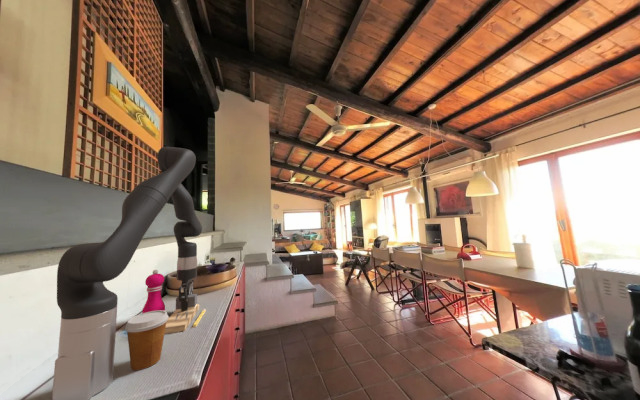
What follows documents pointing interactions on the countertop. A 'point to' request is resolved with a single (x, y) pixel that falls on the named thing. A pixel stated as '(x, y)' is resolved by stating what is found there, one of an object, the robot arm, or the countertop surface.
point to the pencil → (199, 318)
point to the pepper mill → (154, 293)
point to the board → (180, 320)
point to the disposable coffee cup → (146, 338)
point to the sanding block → (191, 302)
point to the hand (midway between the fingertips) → (186, 308)
